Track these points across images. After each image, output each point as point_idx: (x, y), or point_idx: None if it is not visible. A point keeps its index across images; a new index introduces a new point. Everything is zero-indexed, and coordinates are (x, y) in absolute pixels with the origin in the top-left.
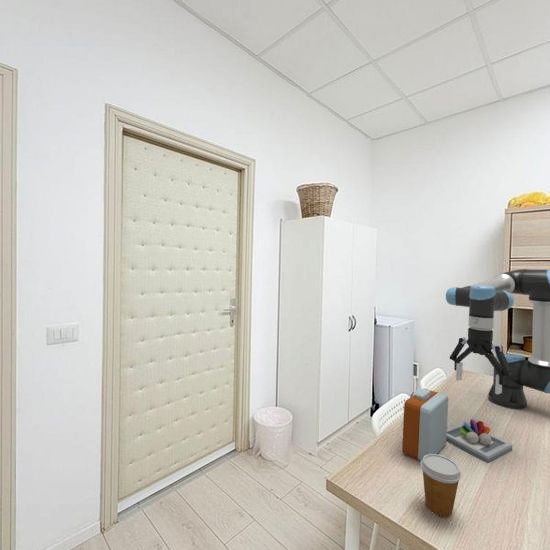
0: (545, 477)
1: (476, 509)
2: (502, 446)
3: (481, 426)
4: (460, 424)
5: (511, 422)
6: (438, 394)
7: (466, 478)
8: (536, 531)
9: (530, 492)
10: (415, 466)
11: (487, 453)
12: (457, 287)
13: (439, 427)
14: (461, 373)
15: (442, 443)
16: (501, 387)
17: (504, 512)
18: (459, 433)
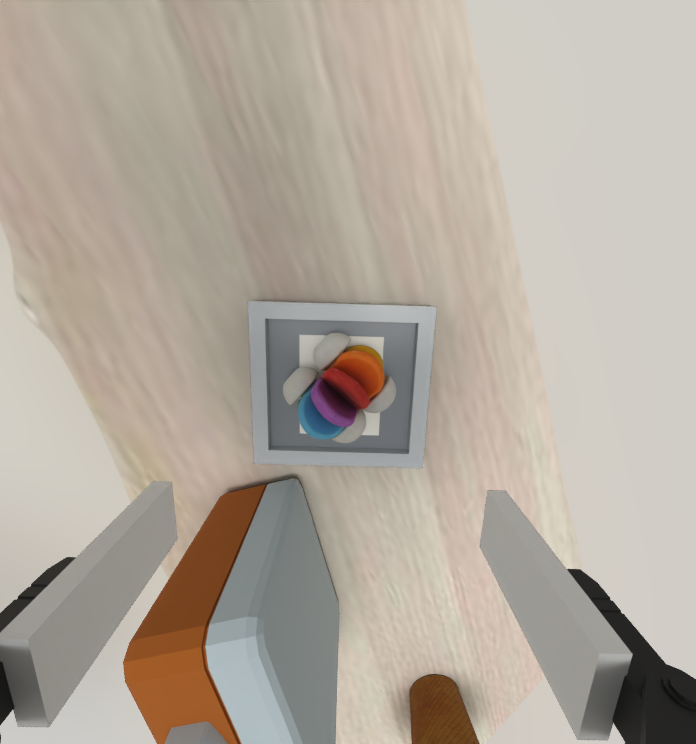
0: (543, 380)
1: (479, 639)
2: (422, 360)
3: (363, 406)
4: (254, 337)
5: (326, 11)
6: (229, 689)
7: (418, 569)
8: None
9: (534, 488)
10: None
11: (413, 452)
12: None
13: (312, 616)
14: (137, 532)
15: (308, 523)
16: (528, 528)
17: None
18: None
